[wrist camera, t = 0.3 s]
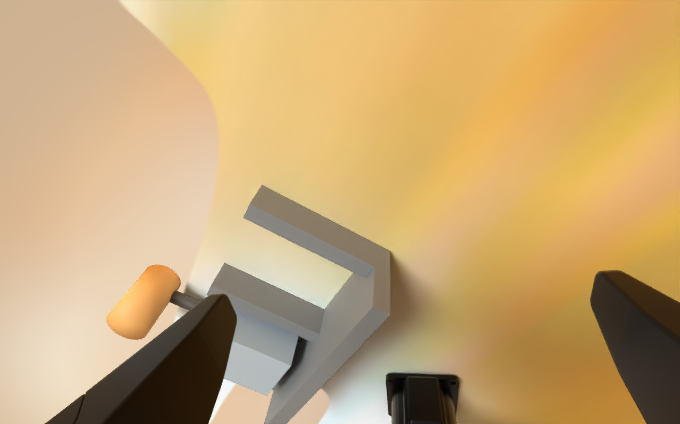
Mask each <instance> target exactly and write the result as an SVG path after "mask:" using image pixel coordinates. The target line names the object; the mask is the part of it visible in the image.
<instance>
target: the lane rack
mask: <svg viewBox="0 0 680 424" xmlns="http://www.w3.org/2000/svg"><path fill="white" fill-rule="evenodd" d="M243 218H245V219H247V220H249V221H251V222H253V223H255V224H257V225H259V226H261V227H263V228H265V229H267V230H269V231H271V232H273V233H275V234H277V235H279V236H281V237H283V238H285V239H287V240H289V241H291V242H293V243H295V244H297V245H299V246H301V247H304V248H306V249H308V250H310V251H312V252H314V253H316V254H318V255H320V256H322V257H324V258H326V259H328V260H330V261H332V262H334V263H336V264H338V265H340V266H342V267H344V268H346V269H348V270H350V271H352V272H354V273H353V274H352V275H351V277H350V278H349V279H348V280H347V282H346V283H345V284H344V285H343V287H342V288H341V289H340V291H339V292H338V293H337V294H336V296H335V297H334V298H333V300H332V301H331V302H330V303H329V305H328V306H327V307H326V308H325V310H324V309H322V308H319V307H317V306H315V305H313V304H311V303H309V302H307V301H304V300H302V299H300V298H298V297H296V296H294V295H292V294H289V293H287V292H285V291H283V290H281V289H279V288H277V287H274V286H272V285H270V284H268V283H266V282H264V281H262V280H259V279H257V278H255V277H253V276H251V275H249V274H247V273H244V272H242V271H240V270H238V269H236V268H234V267H232V266H229V265H227V264H225V263H224V265H223V266H222V268H221V270H220V272H219V273H218V275H217V277H216V278H215V280H214V282H213V283H212V285H211V287H210V289H209V291H208V293H207V295H208V296H209V295H211V294H220V293H224V294H226V295H227V296H228V297H229V299H230V301H231V304H232V306H233V307H235V308H237V309H239V310H241V311H244V312H246V313H248V314H250V315H253V316H255V317H257V318H259V319H262V320H264V321H266V322H268V323H270V324H273V325H275V326H277V327H279V328H282V329H284V330H286V331H288V332H291V333H293V334H295V335H297V336H300V337H302V339H301V340H300V342H299V343H298V344H297V346H296V348H295V352H294V356H293V360H292V364H291V366H290V368H289V369H288V370H287V371H286V373H285V374H284V375H283V376H282V378H281V379H280V380H279V381H278V382H277V384H276V385H275V386H274V387H273V389H272V390H274V391H273V394H272V398H271V402H270V405H269V409H268V412H267V416H266V419H265V423H264V424H287V423H288V422H289V421H290V419H291V418H292V417H293V416H294V415H295V414H296V413H297V412H298V411H299V410H300V409H301V408H302V407H303V406H304V405H305V404H306V403H307V402H308V401H309V399H311V398H312V396H313V395H314V394H315V393H316V392H317V391H318V390H319V389H320V388H321V387H322V386H323V385H324V384H325V383H326V382H327V381H328V380H329V379H330V378H331V377H332V376H333V375H334V374H335V373H336V372H337V370H338V369H339V368H340V367H341V366H342V365H343V364H344V363H345V362H346V361H347V360H348V359H349V358H350V357H351V356H352V355H353V354H354V353H355V352H356V351H357V350H358V349H359V348H360V346H361V345H362V344H363V343H364V342H365V341H366V340H367V339H368V338H369V337H370V336H371V335H372V334H373V333H374V332H375V331H376V330H377V329H378V328H379V327H380V326H381V325H382V324H383V323H384V321H385V320H386V319H387V318H388V317H389V316H390V315H391V305H390V251H389V250H387V249H385V248H383V247H381V246H379V245H377V244H375V243H373V242H371V241H369V240H367V239H365V238H363V237H361V236H359V235H358V234H356V233H354V232H352V231H350V230H348V229H346V228H344V227H342V226H340V225H338V224H336V223H334V222H332V221H330V220H328V219H327V218H325V217H323V216H321V215H319V214H317V213H315V212H313V211H311V210H309V209H307V208H305V207H303V206H301V205H299V204H297V203H295V202H294V201H292V200H290V199H288V198H286V197H284V196H282V195H280V194H278V193H276V192H274V191H272V190H270V189H268V188H266V187H264V186H263V185H262V186H261V187H260V189H259V190H258V192H257V194H256V195H255V197H254V198H253V200H252V201H251V203H250V205H249V207H248V209H247V211H246V213H245V215H244V217H243Z"/></svg>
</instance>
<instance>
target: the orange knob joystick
mask: <svg viewBox="0 0 680 424" xmlns="http://www.w3.org/2000/svg"><path fill="white" fill-rule="evenodd" d="M180 284H181V283H180V278H179V277H178V275H177V274H176V273H175V272H174V271H173V270H171V269H170V268H168V267H165V266H162V265H152V266H150V267H148V268H147V269H146V270H145V272H144V273H143V274H142V275H141V276H140V278H139V279H138V280H137V281H136V282H135V283H134V285H133V286H132V287H131V288H130V289H129V290H128V292H127V293H126V294H125V295H124V297H123V298H122V299H121V300H120V301H119V302H118V303H117V305H116V306H115V307H114V308H113V309H112V310H111V312H110V313H109V314H108V315H107V317H106V321H107V324H108V326H109V327H110V328H111V329H112V330H113V331H114V332H115V333H117V334H118V335H121V336H122V337H125V338H128V339H134V340H137V339H142V338H144V337H145V336H146V335H147V333H148V332H149V331H150V329H151V328H152V326H153V325H154V323H155V322H156V320H157V319H158V317H159V316H160V315H161V313H162V312H163V310H164V309H165V307H166V306H167V304H168V303H169V302H171V303H173V304H175V305H178V306H180V307H182V308H185V309H187V310H189V311H190V310H191V309H193V308H194V307H195V306H196V305H198V304H199V303H200V302H201V301H199V300H197V299H194V298H192V297H190V296H187V295H185V294H183V293H181V292H178V291H177V290H178V289H179V287H180ZM233 308H234V310H235V312H236V315H237V325H236V329H235V333H234V338H233V342H232V346H231V351H230V355H229V359H228V364H227V368H226V372H225V375H224V379H227V380H229V381H231V382H234V383H236V384H239V385H241V386H244V387H246V388H249V389H251V390H254V391H256V392H259V393H261V394H264V395H268V393H269V392H270V391H271V390H272V389H273V387H274V386H275V385H276V384H277V382H278V381H279V380H280V379H281V378H282V376H283V375H284V374H285V373H286V371H287V370H288V369H289V368H290V366H291V364H292V360H293V356H294V352H295V348H296V344H297V340H298V336H297V335H295V334H293V333H291V332H288V331H286V330H284V329H282V328H279V327H277V326H275V325H273V324H270V323H268V322H266V321H264V320H262V319H259V318H257V317H255V316H253V315H250V314H248V313H246V312H244V311H241V310H239V309H237V308H235V307H233Z"/></svg>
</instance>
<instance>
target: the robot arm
mask: <svg viewBox="0 0 680 424" xmlns="http://www.w3.org/2000/svg"><path fill="white" fill-rule="evenodd" d="M590 302H591V307H592V310H593V312H594V315H595V317H596V319H597V322H598V324H599V327H600V329H601V332H602V334H603V336H604V339H605V341H606V344H607V346H608V348H609V351H610V353H611V356H612V358H613V360H614V363H615V365H616V367H617V369H618V372H619V374H620V376H621V378H622V379H623V381H624V383H625V385H626V387H627V389H628V391H629V392H630V394H631V396H632V398H633V400H634V401H635V403H636V405H637V407H638V409H639V410H640V412H641V414H642V416H643V418H644V419H645V421H646V423H647V424H680V302H678V301H676V300H674V299H672V298H670V297H668V296H667V295H665V294H663V293H661V292H659V291H657V290H656V289H654V288H652V287H650V286H648V285H646V284H644V283H643V282H641V281H639V280H637V279H635V278H633V277H631V276H630V275H628V274H626V273H624V272H622V271H619V270H609V271H600V272H598V273H597V274H596V276H595V280H594V284H593V289H592V293H591V298H590ZM236 325H237V315H236V312H235V310H234V308H233V306H232V304H231V301H230V299H229V297H228V296H227V295H226V294H224V293H220V294H211V295H209V296H208V297H207V298H205V299H204V300H203V301H201V302H200V303H199V304H198V305H196V306H195V307H194V308H193V309H191V310H190V311H189V312H187V313H186V314H185V315H184V316H182V317H181V318H180V319H179V320H177V321H176V322H175V323H173V324H172V325H171V326H170V327H168V328H167V329H166V330H164V331H163V332H162V333H161V334H159V335H158V336H157V337H156V338H154V339H153V340H152V341H151V342H149V343H148V344H147V345H145V346H144V347H143V348H142V349H140V350H139V351H138V352H136V354H134V355H133V356H131V357H130V358H129V359H127V360H126V361H125V362H124V363H122V364H121V365H120V366H119V367H117V368H116V369H115V370H113V371H112V372H111V373H110V374H108V375H107V376H106V377H105V378H103V379H102V380H101V381H99V382H98V383H97V384H96V385H94V386H93V387H92V388H91V389H89V390H88V391H87V392H86V394H83V395H82V396H80V397H79V398H78V399H76V400H75V401H74V402H73V403H71V404H70V405H69V406H67V407H66V408H65V409H64V410H62V411H61V412H60V413H58V414H57V415H56V416H54V417H53V418H52V419H51V420H49V421H48V422H47V423H45V424H208V423H209V420H210V417H211V414H212V411H213V408H214V406H215V403H216V400H217V397H218V394H219V391H220V388H221V385H222V382H223V379H224V375H225V372H226V368H227V364H228V359H229V355H230V351H231V346H232V342H233V338H234V333H235V329H236ZM386 388H387V401H388V414H389V415H390V416H392V424H457V422H456V410H457V399H458V389H459V380H458V377H456V376H448V375H419V374H387V375H386Z"/></svg>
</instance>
